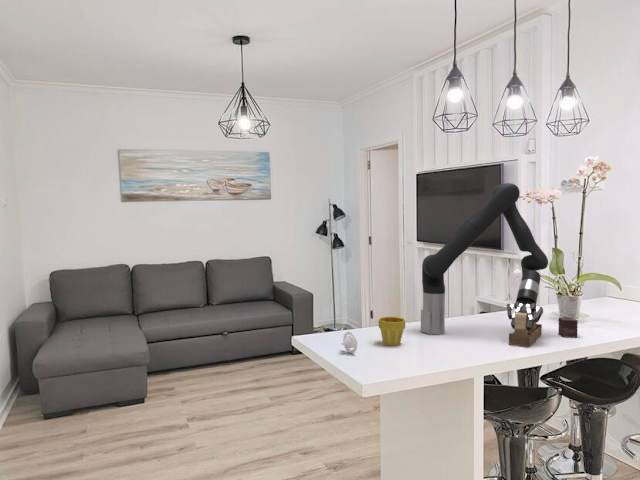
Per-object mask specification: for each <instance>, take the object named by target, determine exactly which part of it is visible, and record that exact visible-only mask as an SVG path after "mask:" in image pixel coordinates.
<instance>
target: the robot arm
mask: <svg viewBox="0 0 640 480" xmlns="http://www.w3.org/2000/svg"><path fill="white" fill-rule="evenodd" d="M520 194H521V193H520V188H519V187H518V186H517V185H516V184H514V183H510V182H506V183H500V184H497V185H496V186H495V187H494V189H493V191H492V197H491V198H490V199H489V201H488V202H487V203H485V205H483V206H481V207H480V208H479V209H477V210H475V212H473V213H472V214H470V215H469V216H468V217H467V218H465V219H464V220H463V222H461V223H460V224H459V225H458V226H457V228H456V229H455V230H454V232H453V233H452V235H451V236H450V237H449V239H448V241H447V242H446V243H445V244H444V245H443V246H442V248H440V249H439V250H438V251H437V252H436V253H434V254H429V255H427V256H426V257H425V258H424V259H423V260H422V263H421V265H422V266H421V269H422V271H421V272H422V273H421V276H422V277H421V278H422V279H421V284H422V309H421V310H420V332H421V333H424V334H427V335H443V334H445V332H446V331H445V328H446V327H445V325H446V321H445V320H446V319H445V318H446V317H445V316H446V314H445V313H446V286H445V285H446V284H445V273H446V272H447V271H448V270H449V269H450V267H451V266H452V265H453V263H454V262H455V261H456V260H457V259H458V258H459V257H460V256H461V255H462V253H464V252H465V251H466V250H468V249H469V248H470V247H471V246H472V245H473V244H474V243H475V242H476V241H478V239H479V238H480V237H481V236H482V235H483V234H484V233H485V231H487V230H488V229H489V228H490V226H491V225H492V224H494V223H495V221H496V220H497V219H498V218H499V216H501V215H503V217H504V219H505V220H506V222H507V224H508V227H509V229H510V230H511V233H512V235H513V237H514V238H513V239H514V240H515V242H516V245H517V247H518V250H519V251H520V252H523V253H525V252H527V253H530V254H528V255H525V256H523V258H522V259H521V261H520V265H521V272H522V280H521V284H520V286H519V290H518V295H517V299H516V302H515V303H514V305H512V304H511V303H507V304H506V310H507V317H508V319H509V320H511V321H510V327H511V328H512V329H514V330H515V313H518V312H521V313H528V316H529V320H528V323H527V330H529V329H531V328H532V323H533V322H536V323H539V321H540V319H541V317H542V315H543V314H544V309H543V306H537V302H538V297H539V293H540V291H539V290H540V283H541V274H540V272H539V271H540V270H541V271H542V270H545V269H547V268H548V265H549V259H548V256H547V255H546V253H545V252H544V251H543V249H541V247H540V246H539V245H538V244H537V242H536V240H535V238H534V235H533V234H532V231H531V229H530V227H529V226H528V224H527V222H526V221H525V220H524V217H522V215H521V213H520V212H519V210H518V208H517V204H516V203H517V201H518V200H519V198H520ZM513 308H515V309H516V310H515V313H514V314H513V315H512V314H511V313H512V310H513ZM535 310H536V311H537V313H536V315H535V317H532V315H531V314H532V313H533V312H534V311H535Z"/></svg>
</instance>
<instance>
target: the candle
mask: <svg viewBox="0 0 640 480" xmlns="http://www.w3.org/2000/svg"><path fill="white" fill-rule="evenodd" d="M511 273H512V274H511V275H512V276H511V277H512V280H511V281H512V282H511V305H514V303H515V302H516V299H517V295H518V290H519V286H520V284H521V280H522V270H520V269H519V265H516V268H515V270H514V271H512V272H511ZM517 276H518V277H517ZM515 310H516V309H515V308H513V310H512V311H511V314H512V315H513V314H514V313H515Z"/></svg>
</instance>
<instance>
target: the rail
mask: <svg viewBox="0 0 640 480" xmlns="http://www.w3.org/2000/svg"><path fill="white" fill-rule="evenodd" d="M536 313H537V311H536V310H535V311H534V312H533V313H532V314H531V315H532V317H535V315H536ZM528 320H529V316H528ZM542 326H543V325H542V324H541V323H537V322H533V323H532V328H531V329H529V330H528V335H522V334H515V331H514V332H509V333H508V345H509V346H514V347H521V348H526V349H527V348H529V349H530V348H531V347H532V346H533V344H535V343H536V342H537V340H539V339H540V337H541V336H542V330H543V327H542Z"/></svg>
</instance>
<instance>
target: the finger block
mask: <svg viewBox="0 0 640 480" xmlns="http://www.w3.org/2000/svg"><path fill="white" fill-rule="evenodd" d="M527 323H528V313H521V312H518V313H515V329H514V332H515V334H522V335H528V330H527Z"/></svg>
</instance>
